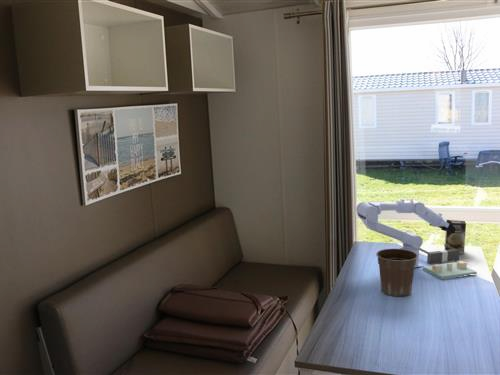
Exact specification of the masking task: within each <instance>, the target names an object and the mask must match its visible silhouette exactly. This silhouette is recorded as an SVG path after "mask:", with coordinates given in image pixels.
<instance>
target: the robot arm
mask: <svg viewBox="0 0 500 375" xmlns="http://www.w3.org/2000/svg"><path fill="white" fill-rule="evenodd" d="M382 211H395V212H396V213H398V214H412V213H413V214H415V215H417V217H419V218H420V219H421V220H424V221H425V222H426V223H428V224H429V226H430V227H434V228H440V229H441V231H444V232H446V231H449V232H452V233H454V232H455V231H456V229H455V228H454V226H453V225H452V223H451V221H450V220H451V219H446V220H447V222H446V220H445V219H444V218H443V214H442V213H440V212H439V213H436V212H435V211H434V210H432V209H431V208H429V207H427V206H425V203H423V202H420V201H417V200H414V199H410V200H405V199H402V198H401V199H400V200H397V201H396V202H382V201H380V202H379V201H367V202H365V201H362V202H359V203H358V205H356V214H357V216H358V218H360V220H361V222H362V223H363V224H364V226H365V227H366V229H369V230H370V231H373V232H375V233H378V234H380V235H383V236H387V237H389V238H392V239H395V240H397V241H399V242H401V243H402V247H401V248H400V247H399V249H404V250H409V251H412V252H415V253H416V254H417V255H418V257H417V259H416V264H415V266H414V269H415V268H423V265H422V264H421V263H419V260H420V250H419V249H420V248H421V247H422V245H423V237H422V236H421V235H417V234H415V233H413V232H411V231H409V230H408V231H407V230H405V231H403V230H400V229H397V228H395V227H392V226H389V225H386V224H384V223H382V222H379V215H380V214H381V213H382Z"/></svg>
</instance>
